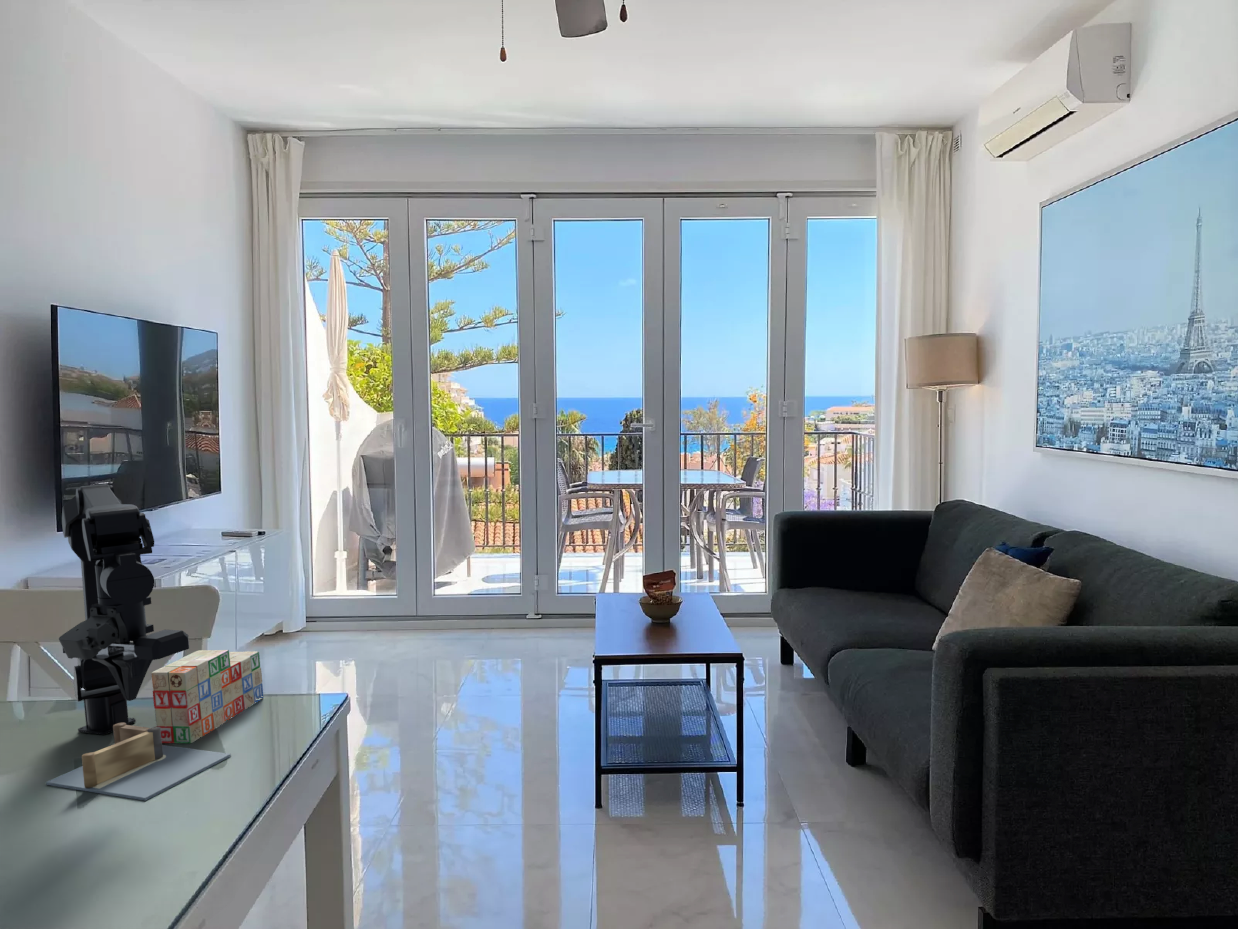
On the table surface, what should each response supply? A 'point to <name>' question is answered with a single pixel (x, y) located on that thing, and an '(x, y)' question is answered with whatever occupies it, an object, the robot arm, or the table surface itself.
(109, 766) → the folding fence panel
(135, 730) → the fixed fence section
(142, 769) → the board
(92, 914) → the table surface
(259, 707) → the table surface
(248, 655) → the stack of blocks
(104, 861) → the table surface
